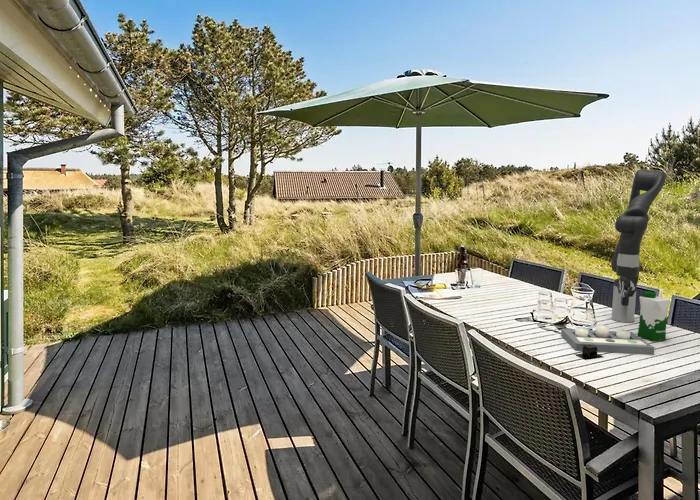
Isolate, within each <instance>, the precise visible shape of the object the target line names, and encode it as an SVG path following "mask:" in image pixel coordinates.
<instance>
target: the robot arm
mask: <svg viewBox="0 0 700 500" xmlns="http://www.w3.org/2000/svg"><path fill="white" fill-rule="evenodd" d="M666 177H667V176H666V173H665V172H664V171H661V170H653V169H643V168H642V169H638V170H637V171H636V172H635V174H634V177H633V180H632V186H631V191H630V196H629V202H628V205H627V209H626V210H625V211H624V212H622V213H621V214H620V215H619V217H617V219H616V220H615V224H614V228H615V230H616V231H617V232H618V233H620V235H619V238H618V242H617V245H616V247H615V250H614V252H613V255H612V258H611V262H610V263H611V265H610V266H611V270H612V271H613V272H614V273H615V274H616V276H618V278H616V279H614V281H613V292H612V293H613V294H612V304H611V305H612V308H611V309H612V310H611V319H612V320H613V321H616V322H621V323H634V322H635V311H636V299H637V298H636V297H637V290H638V283H639V278H640V277H639V276H640V270H641V260H640V258H641V257H640V251H641V243H642V240H643V237H644V235H645V234H646V231H647V227H648V224H649V215H648V212H649V210H650V207H651V206H652V204H653V202H654V201H655V199H656V198H657V197H658V195H659V194H660V192H661V191H662V190H663V188H664V185H665V182H666V180H667V179H666ZM641 191H642V192H643V191H644V192H643V193H641Z"/></svg>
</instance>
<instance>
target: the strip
mask: <svg viewBox="0 0 700 500" xmlns="http://www.w3.org/2000/svg"><path fill="white" fill-rule="evenodd" d="M576 339H577V340H578V341H579V342H581V343H601V344H621V345H642V346H647V345H646V344H645V343H643V342H642V341H640V340H624V339H602V338H581V337H576Z"/></svg>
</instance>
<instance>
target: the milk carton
mask: <svg viewBox="0 0 700 500" xmlns="http://www.w3.org/2000/svg"><path fill="white" fill-rule="evenodd" d="M639 303H640V308H639V309H640V311H639V323H638V324H639V325H638V330H637V335H636V336H638V337H639V338H641V339H643V340H648V341H650V342H653V343H654V342H660V341H665V340H667V339H666V333H667V320H668V309H669V306H670V303H671V299H669V298H666V297H661V296H657V292H654V291H651V290H650V291H647V290H646V291H644V293H643V296H642V295H641V296H639Z"/></svg>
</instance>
